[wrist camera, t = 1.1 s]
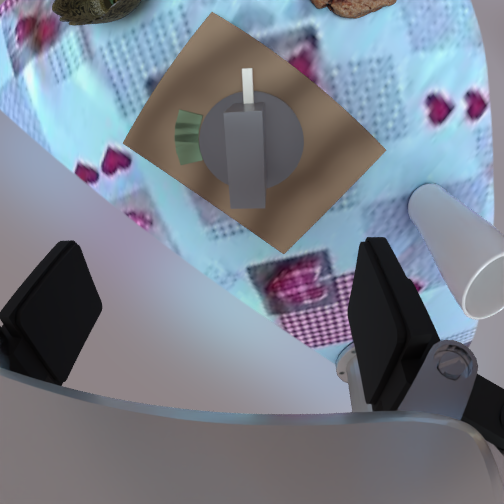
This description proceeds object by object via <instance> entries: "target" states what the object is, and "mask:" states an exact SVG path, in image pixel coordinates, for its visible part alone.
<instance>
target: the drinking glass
mask: <svg viewBox="0 0 504 504" xmlns="http://www.w3.org/2000/svg"><path fill="white" fill-rule="evenodd" d="M408 214H409V217H410V219H411V221H412V222H413V224H414V225H415V226H416V228H417V229H418V231H419V233H420V235H421V236H422V238H423V240H424V242H425V244H426V246H427V247H428V249H429V251H430V253H431V255H432V257H433V259H434V261H435V263H436V265H437V267H438V269H439V271H440V273H441V275H442V277H443V279H444V281H445V283H446V285H447V286H448V288H449V290H450V292H451V293H452V295H453V297H454V298H455V300H456V301H457V303H458V304H459V306H460V307H461V309H462V310H463V312H464V314H465V315H466V316H467V317H469V318H471V319H484V318H488V317H490V316H493V315H494V314H496V313H498V312H499V311H501V310H502V309H503V308H504V235H503V234H502V233H501V232H500V231H499V230H498V229H497V228H495V227H494V226H493V225H492V224H491V223H489V222H488V221H487V220H485V219H484V218H483V217H482V216H480V215H479V214H477V213H476V212H475V211H473V210H472V209H471V208H469V207H468V206H466V205H465V204H464V203H462V202H461V201H459V200H458V199H457V198H455V197H454V196H452V195H451V194H450V193H448V192H447V191H446V190H445V189H444V188H443V187H441V186H439V185H437V184H432V183H430V184H425V185H422V186H420V187H419V188H417V189H416V190H415V191H414V192H413V194H412V195H411V197H410V200H409V203H408Z"/></svg>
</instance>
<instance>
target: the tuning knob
mask: <svg viewBox="0 0 504 504" xmlns="http://www.w3.org/2000/svg"><path fill="white" fill-rule="evenodd" d="M242 81H243V91H242V92H238V93H235V94H232V95H229V96H228V97H226V98H224V99H222V100H221V101H219V102H218V103H217V104H216V105H214V106H213V107H212V108H211V110H210V111H209V112H208V114H207V115H206V117H205V119H204V121H203V123H202V126H201V129H200V135H199V146H200V152H201V155H202V158H203V160H204V162H205V164H206V166H207V167H208V169H209V170H210V171H211V172H212V174H213V175H215V176H216V177H217V178H218V179H219V180H221V181H222V182H224V183H225V184H227V185H229V195H230V208H231V209H253V208H265V204H266V189H267V188H270V187H273V186H275V185H277V184H279V183H281V182H282V181H284V180H285V179H286V178H287V177H289V176H290V174H291V173H292V172H293V171H294V170H295V168H296V167H297V165H298V163H299V161H300V159H301V156H302V153H303V147H304V136H303V131H302V127H301V124H300V122H299V120H298V118H297V116H296V114H295V113H294V112H293V110H292V109H291V108H290V107H289V106H288V105H287V104H286V103H285V102H284V101H282V100H281V99H279V98H278V97H276V96H274V95H271V94H269V93H265V92H261V91H253V70H252V68H246V69H242Z"/></svg>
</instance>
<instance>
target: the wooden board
mask: <svg viewBox="0 0 504 504" xmlns="http://www.w3.org/2000/svg"><path fill="white" fill-rule="evenodd" d="M246 68H252V70H253V91H261V92H265V93H269V94H271V95H274V96H276V97H278V98H279V99H281V100H282V101H284V102H285V103H286V104H287V105H288V106H289V107H290V108H291V109H292V110H293V112H294V113H295V114H296V116H297V118H298V120H299V122H300V124H301V127H302V131H303V136H304V147H303V153H302V156H301V159H300V161H299V163H298V165H297V167H296V168H295V170H294V171H293V172H292V173H291V174H290V176H289V177H287V178H286V179H285V180H284V181H282V182H281V183H279V184H277V185H275V186H273V187H270V188H267V189H266V204H265V208H253V209H231V208H230V195H229V185H227V184H225V183H224V182H222V181H221V180H219V179H218V178H217V177H216V176H215V175H213V174H212V172H211V171H210V170H209V169H208V167H207V166H206V164H205V162H204V160H203V158H202V155H201V152H200V146H199V135H200V129H201V126H202V123H203V121H204V119H205V117H206V115H207V114H208V112H209V111H210V110H211V108H212V107H213V106H214V105H216V104H217V103H218V102H219V101H221V100H222V99H224V98H226V97H228V96H229V95H232V94H235V93H238V92H242V91H243V81H242V69H246ZM123 144H124V145H126V146H127V147H129V148H130V149H132V150H133V151H135V152H136V153H138V154H139V155H141V156H142V157H144V158H145V159H147V160H148V161H150V162H151V163H153V164H154V165H156V166H157V167H159V168H160V169H161V170H163V171H164V172H166V173H167V174H169V175H170V176H172V177H173V178H175V179H176V180H178V181H179V182H181V183H182V184H183V185H185V186H186V187H188V188H189V189H191V190H192V191H194V192H195V193H197V194H198V195H199V196H201V197H202V198H204V199H205V200H207V201H208V202H210V203H211V204H213V205H214V206H215V207H217V208H218V209H220V210H221V211H223V212H224V213H226V214H227V215H228V216H230V217H231V218H233V219H234V220H236V221H237V222H238V223H240V224H241V225H243V226H244V227H246V228H247V229H248V230H250V231H251V232H253V233H254V234H256V235H257V236H258V237H260V238H261V239H263V240H264V241H266V242H267V243H268V244H270V245H271V246H273V247H274V248H276V249H277V250H278V251H280V252H281V253H283V254H285V253H286V252H287V251H288V250H289V249H290V248H291V247H292V246H293V245H294V244H295V243H296V242H297V241H298V240H299V239H300V238H301V237H302V236H303V235H304V234H305V233H306V232H307V231H308V230H309V229H310V228H311V227H312V226H313V225H314V224H315V223H316V222H317V221H318V220H319V219H320V218H321V217H322V216H323V215H324V214H325V213H326V212H327V211H328V210H329V209H330V208H331V207H332V206H333V205H334V204H335V203H336V202H337V201H338V200H339V199H340V198H341V197H342V196H343V194H344V193H345V192H346V191H347V190H348V189H349V188H350V187H351V186H352V185H353V184H354V183H355V182H356V181H357V180H358V179H359V178H360V177H361V176H362V175H363V174H364V173H365V172H366V171H367V170H368V169H369V168H370V167H371V166H372V165H373V164H374V163H375V162H376V161H377V160H378V159H379V157H380V156H381V155H382V154H383V153H384V152H385V151H386V149H385V148H384V147H383V146H382V145H381V144H380V143H379V142H378V141H377V140H376V139H375V138H374V137H373V136H372V135H371V134H370V133H369V132H368V131H367V130H366V129H365V128H364V127H363V126H362V125H361V124H360V123H359V122H357V121H356V120H355V119H354V118H353V117H352V116H351V115H350V114H349V113H348V112H347V111H346V110H345V109H343V108H342V107H341V106H340V105H339V104H338V103H337V102H336V101H334V100H333V99H332V98H331V97H330V96H329V95H328V94H326V93H325V92H324V91H323V90H322V89H321V88H319V87H318V86H317V85H316V84H315V83H313V82H312V81H311V80H310V79H308V78H307V77H306V76H305V75H303V74H302V73H301V72H300V71H298V70H297V69H296V68H294V67H293V66H292V65H291V64H289V63H288V62H287V61H285V60H284V59H283V58H281V57H280V56H279V55H277V54H276V53H274V52H273V51H272V50H270V49H269V48H267V47H266V46H265V45H263V44H262V43H260V42H259V41H257V40H256V39H254V38H253V37H251V36H250V35H248V34H247V33H245V32H244V31H242V30H241V29H239V28H238V27H236V26H234V25H233V24H231V23H230V22H228V21H226V20H225V19H223V18H221V17H220V16H218V15H216V14H215V13H213V12H211V14H210V15H209V16H208V17H207V18H206V20H205V21H204V22H203V23H202V25H201V26H200V27H199V28H198V30H197V31H196V32H195V33H194V35H193V36H192V37H191V39H190V40H189V41H188V43H187V44H186V45H185V47H184V48H183V49H182V51H181V52H180V53H179V55H178V56H177V57H176V59H175V60H174V62H173V63H172V65H171V66H170V67H169V69H168V70H167V72H166V73H165V75H164V76H163V78H162V79H161V81H160V82H159V84H158V85H157V87H156V88H155V90H154V91H153V93H152V94H151V96H150V98H149V99H148V101H147V102H146V104H145V106H144V107H143V109H142V111H141V112H140V114H139V116H138V117H137V119H136V121H135V122H134V124H133V126H132V128H131V129H130V131H129V133H128V135H127V136H126V138H125V140H124V142H123Z"/></svg>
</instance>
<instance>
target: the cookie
mask: <svg viewBox="0 0 504 504" xmlns="http://www.w3.org/2000/svg"><path fill="white" fill-rule="evenodd" d="M395 2H396V0H312V3H314V5H315V6H316V8H319V9H320V8H324V7H326V6H327V7H328V8H329V10H330V11H331V10H332V11H333V12H334V13H335V14H337V15H339V16H341V17H346V18H359V17H362V16H364V15H367V14H369V13H371V12H375V11H377V10H379V9H381V8H382V7H384V6H390V5H393V4H394V3H395ZM323 6H324V7H323Z"/></svg>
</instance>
